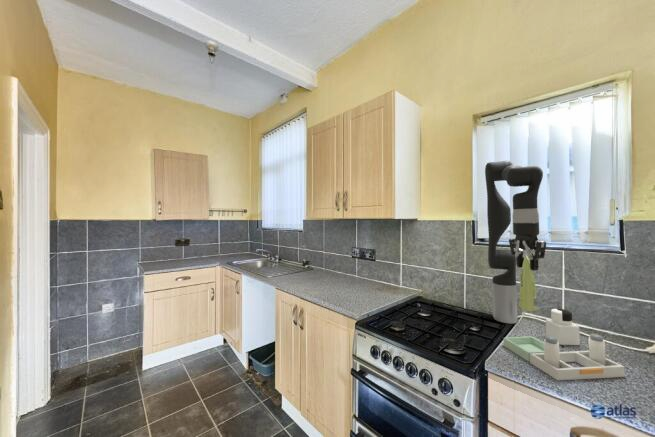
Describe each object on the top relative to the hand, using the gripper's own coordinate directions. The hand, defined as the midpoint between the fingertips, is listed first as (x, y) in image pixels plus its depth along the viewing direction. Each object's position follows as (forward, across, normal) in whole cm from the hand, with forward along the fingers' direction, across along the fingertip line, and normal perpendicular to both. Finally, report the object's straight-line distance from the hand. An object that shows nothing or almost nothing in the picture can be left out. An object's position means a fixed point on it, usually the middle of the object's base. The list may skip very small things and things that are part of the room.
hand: (527, 268), depth 92 cm
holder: (+30, +11, +5) cm, 32 cm away
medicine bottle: (+30, -7, +19) cm, 36 cm away
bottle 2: (+30, +11, +12) cm, 34 cm away
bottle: (+30, +11, -3) cm, 32 cm away
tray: (+30, 0, 0) cm, 30 cm away
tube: (+15, 0, 0) cm, 15 cm away
